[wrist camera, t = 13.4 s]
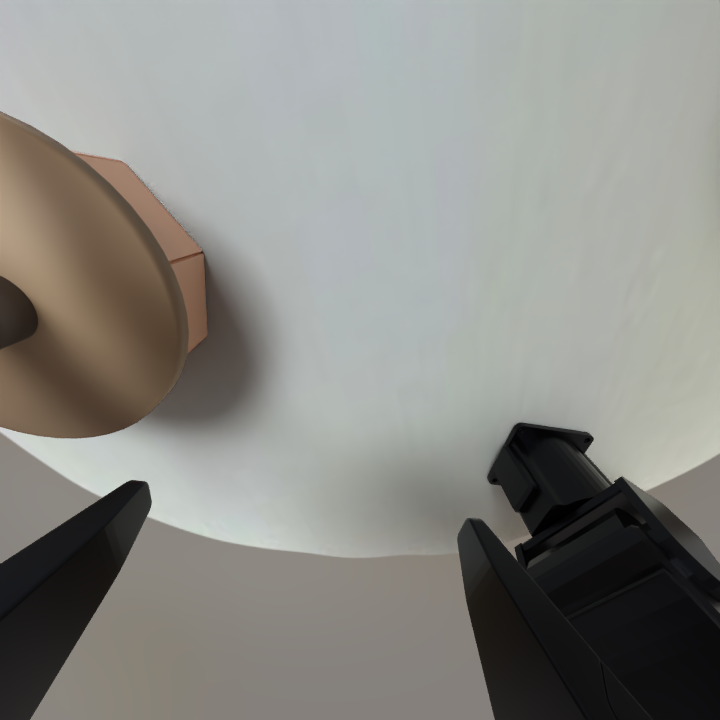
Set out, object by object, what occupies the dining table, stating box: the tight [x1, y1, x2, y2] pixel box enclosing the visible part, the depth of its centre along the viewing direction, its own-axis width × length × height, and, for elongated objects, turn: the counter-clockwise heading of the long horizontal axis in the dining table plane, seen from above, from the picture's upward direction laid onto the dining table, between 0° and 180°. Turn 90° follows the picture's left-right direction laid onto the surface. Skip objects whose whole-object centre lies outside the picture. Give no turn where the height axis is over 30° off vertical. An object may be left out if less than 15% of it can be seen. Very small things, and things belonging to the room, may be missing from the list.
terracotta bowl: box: [70, 150, 208, 354], centre depth 16 cm, size 13×13×4 cm
